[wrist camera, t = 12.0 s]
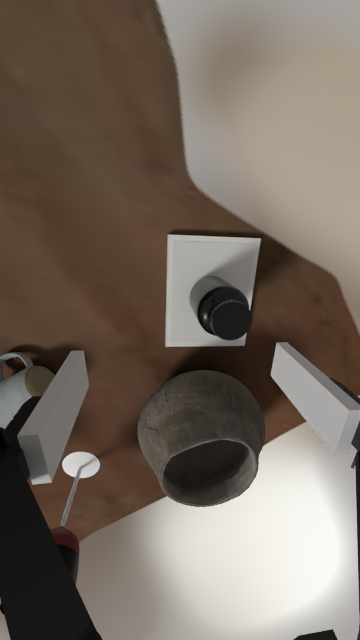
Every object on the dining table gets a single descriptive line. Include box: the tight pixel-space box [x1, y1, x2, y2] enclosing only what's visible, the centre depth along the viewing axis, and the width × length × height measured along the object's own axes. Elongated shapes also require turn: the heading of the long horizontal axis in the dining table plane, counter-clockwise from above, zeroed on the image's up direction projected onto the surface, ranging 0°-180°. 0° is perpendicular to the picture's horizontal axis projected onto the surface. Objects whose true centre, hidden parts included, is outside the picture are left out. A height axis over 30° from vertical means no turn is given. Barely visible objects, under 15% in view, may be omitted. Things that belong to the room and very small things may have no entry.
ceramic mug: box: [0, 352, 55, 429], centre depth 38 cm, size 11×8×8 cm
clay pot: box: [138, 370, 265, 507], centre depth 40 cm, size 22×21×15 cm
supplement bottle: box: [189, 276, 252, 341], centre depth 32 cm, size 7×7×12 cm
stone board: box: [165, 235, 261, 347], centre depth 39 cm, size 18×14×1 cm
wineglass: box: [0, 452, 100, 615], centre depth 40 cm, size 8×9×20 cm
